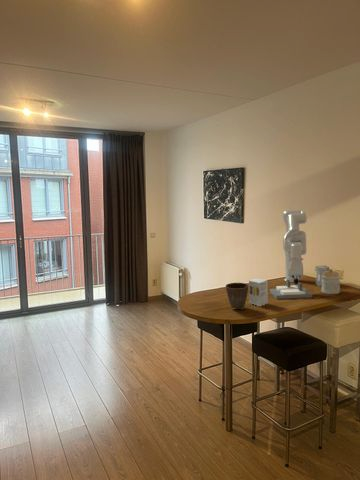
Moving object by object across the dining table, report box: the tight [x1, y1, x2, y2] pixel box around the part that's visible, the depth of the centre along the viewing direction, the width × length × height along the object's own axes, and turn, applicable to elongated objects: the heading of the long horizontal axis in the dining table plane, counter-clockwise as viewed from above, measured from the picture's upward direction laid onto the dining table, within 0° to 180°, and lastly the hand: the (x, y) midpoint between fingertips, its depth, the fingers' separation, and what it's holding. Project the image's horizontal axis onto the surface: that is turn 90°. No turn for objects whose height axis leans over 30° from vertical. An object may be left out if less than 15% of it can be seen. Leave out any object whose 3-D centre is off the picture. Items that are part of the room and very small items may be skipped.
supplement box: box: [248, 277, 269, 307], centre depth 247 cm, size 10×9×17 cm
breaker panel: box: [269, 284, 313, 300], centre depth 266 cm, size 18×26×5 cm
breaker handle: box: [297, 281, 303, 291], centre depth 260 cm, size 4×2×5 cm, turn 1°
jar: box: [320, 268, 341, 295], centre depth 267 cm, size 13×13×18 cm
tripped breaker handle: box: [285, 279, 291, 287], centre depth 270 cm, size 4×2×5 cm, turn 1°
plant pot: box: [225, 282, 249, 310], centre depth 239 cm, size 15×15×16 cm
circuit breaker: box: [314, 265, 330, 287], centre depth 287 cm, size 8×14×15 cm, turn 89°
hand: (295, 283), depth 270 cm, fingers closed
